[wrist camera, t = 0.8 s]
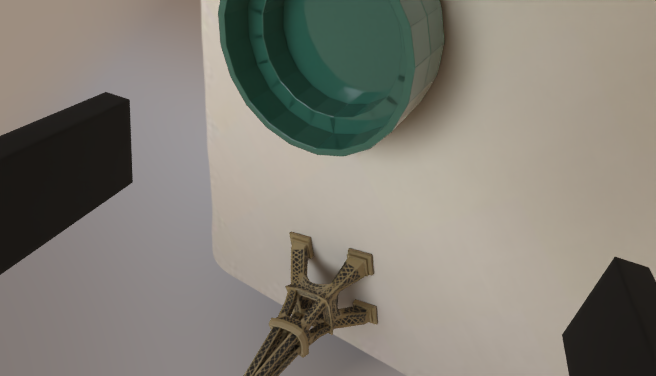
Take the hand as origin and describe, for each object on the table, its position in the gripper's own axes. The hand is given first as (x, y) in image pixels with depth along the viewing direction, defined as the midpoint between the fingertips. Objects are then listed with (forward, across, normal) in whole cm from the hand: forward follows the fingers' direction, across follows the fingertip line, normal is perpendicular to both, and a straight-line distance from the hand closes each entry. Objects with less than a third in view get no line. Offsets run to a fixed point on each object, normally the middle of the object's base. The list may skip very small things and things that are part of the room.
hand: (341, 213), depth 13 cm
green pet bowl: (+28, -7, -2) cm, 28 cm away
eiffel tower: (+31, -3, -30) cm, 44 cm away
